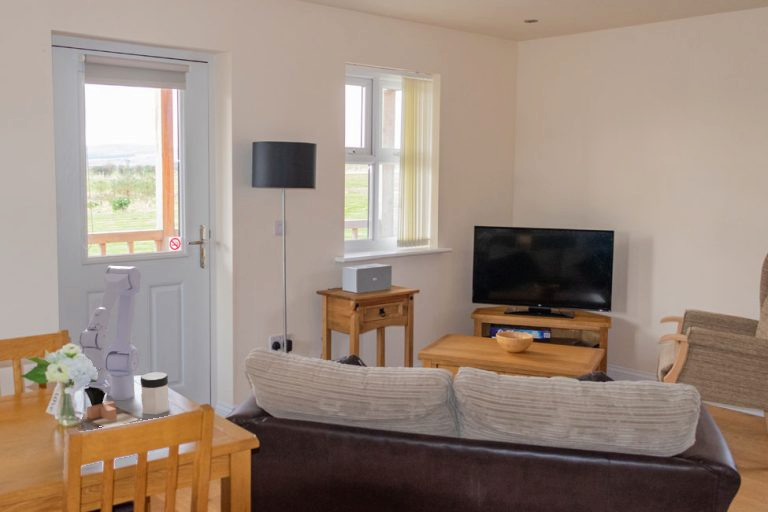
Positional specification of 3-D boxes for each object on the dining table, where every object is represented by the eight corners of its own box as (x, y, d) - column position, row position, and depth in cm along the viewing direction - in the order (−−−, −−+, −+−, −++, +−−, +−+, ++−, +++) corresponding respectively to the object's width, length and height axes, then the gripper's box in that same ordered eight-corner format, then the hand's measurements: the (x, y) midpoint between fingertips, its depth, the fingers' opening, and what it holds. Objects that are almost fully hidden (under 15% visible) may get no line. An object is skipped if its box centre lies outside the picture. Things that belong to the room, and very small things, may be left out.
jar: (142, 409, 253) (140, 372, 251) (168, 406, 255) (167, 370, 253) (142, 418, 244) (140, 381, 243) (169, 416, 247) (168, 378, 245)
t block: (87, 416, 243) (86, 407, 243) (111, 409, 249) (110, 400, 249) (100, 422, 238) (100, 413, 238) (124, 415, 244) (124, 406, 243)
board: (71, 418, 245) (71, 414, 245) (110, 407, 255) (110, 404, 254) (105, 434, 232) (105, 430, 232) (144, 422, 242) (144, 418, 241)
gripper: (70, 365, 247) (73, 407, 249) (94, 375, 237) (97, 418, 239) (92, 361, 252) (94, 402, 254) (116, 370, 242) (118, 412, 244)
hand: (97, 409), depth 247 cm, fingers closed
